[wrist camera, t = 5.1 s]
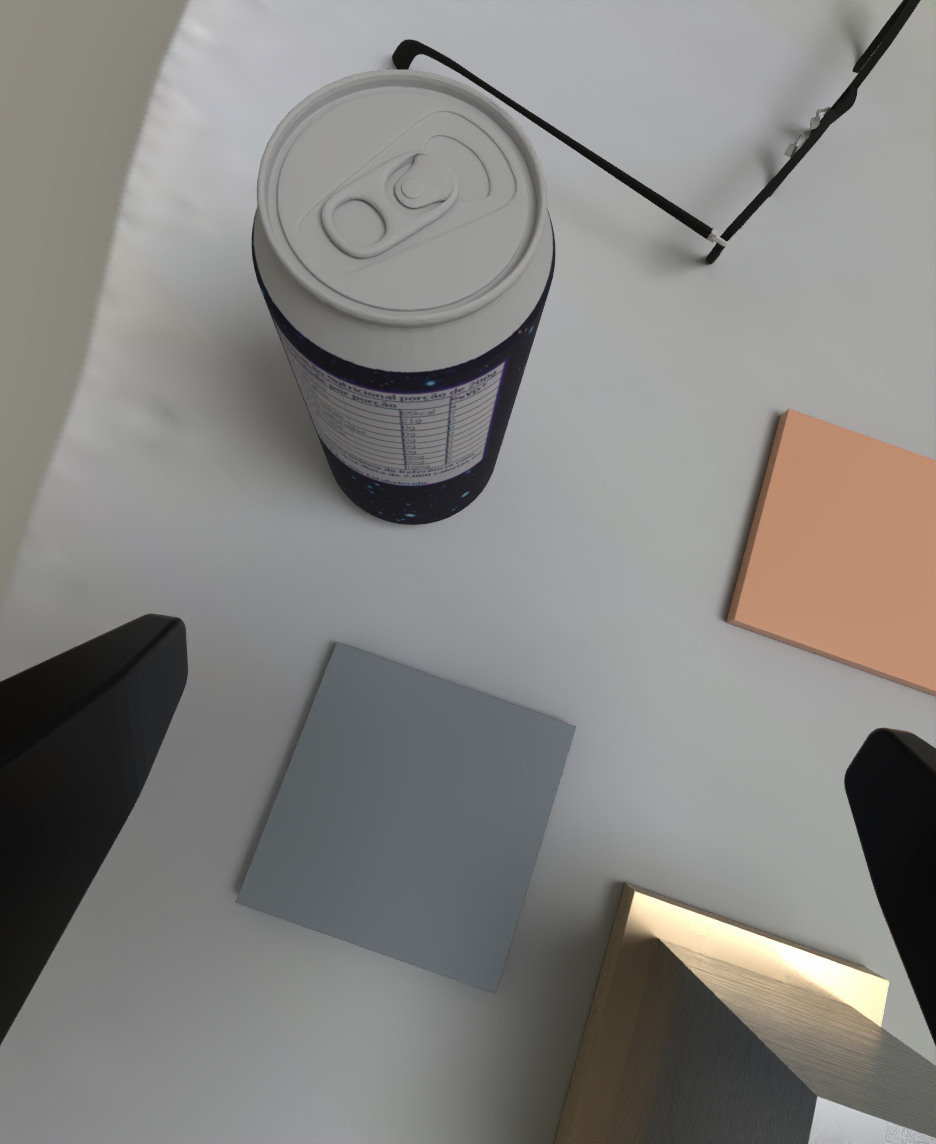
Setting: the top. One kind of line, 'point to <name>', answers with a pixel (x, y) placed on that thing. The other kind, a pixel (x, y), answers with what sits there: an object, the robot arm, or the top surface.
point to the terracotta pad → (844, 552)
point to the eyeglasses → (818, 127)
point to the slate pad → (410, 818)
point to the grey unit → (737, 1041)
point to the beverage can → (404, 280)
